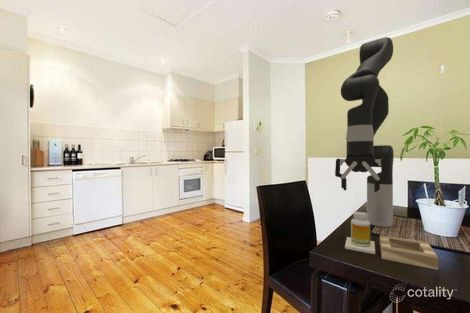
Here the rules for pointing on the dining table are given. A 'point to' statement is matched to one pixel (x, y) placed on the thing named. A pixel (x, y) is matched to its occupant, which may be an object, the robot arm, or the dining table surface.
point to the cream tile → (360, 248)
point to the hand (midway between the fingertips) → (359, 191)
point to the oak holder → (408, 252)
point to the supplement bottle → (360, 229)
